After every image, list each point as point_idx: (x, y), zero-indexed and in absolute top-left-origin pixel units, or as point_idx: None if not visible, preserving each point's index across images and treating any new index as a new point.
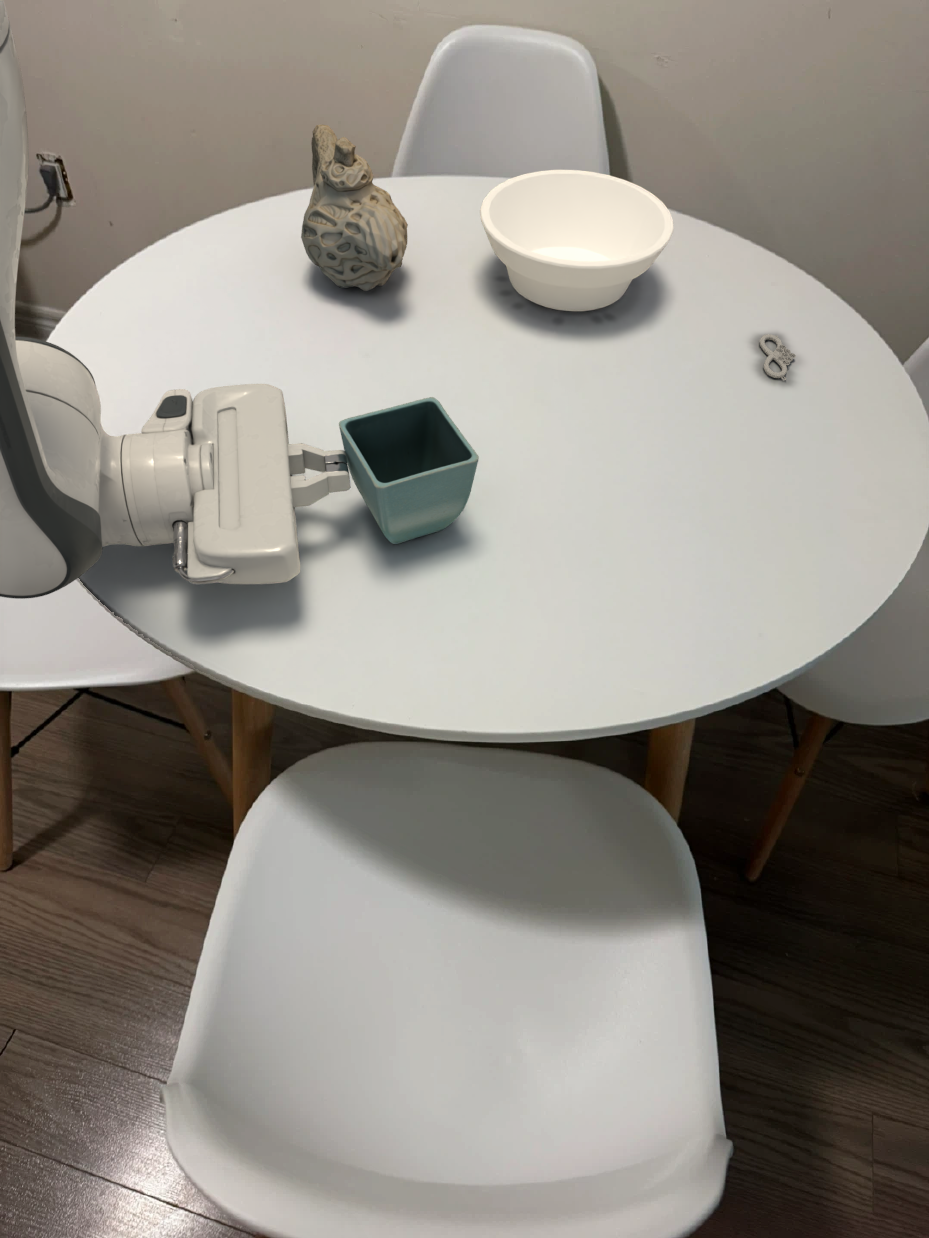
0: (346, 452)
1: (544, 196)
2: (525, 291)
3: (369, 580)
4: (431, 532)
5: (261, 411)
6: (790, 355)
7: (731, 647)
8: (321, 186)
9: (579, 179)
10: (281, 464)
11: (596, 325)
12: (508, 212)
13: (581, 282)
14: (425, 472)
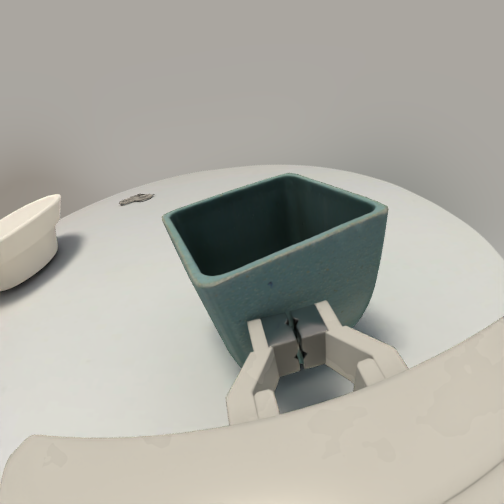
0: (246, 322)
1: None
2: (20, 275)
3: (404, 353)
4: None
5: (92, 489)
6: (138, 194)
7: (362, 184)
8: None
9: None
10: (358, 403)
11: (66, 254)
12: None
13: (48, 225)
14: (330, 187)
